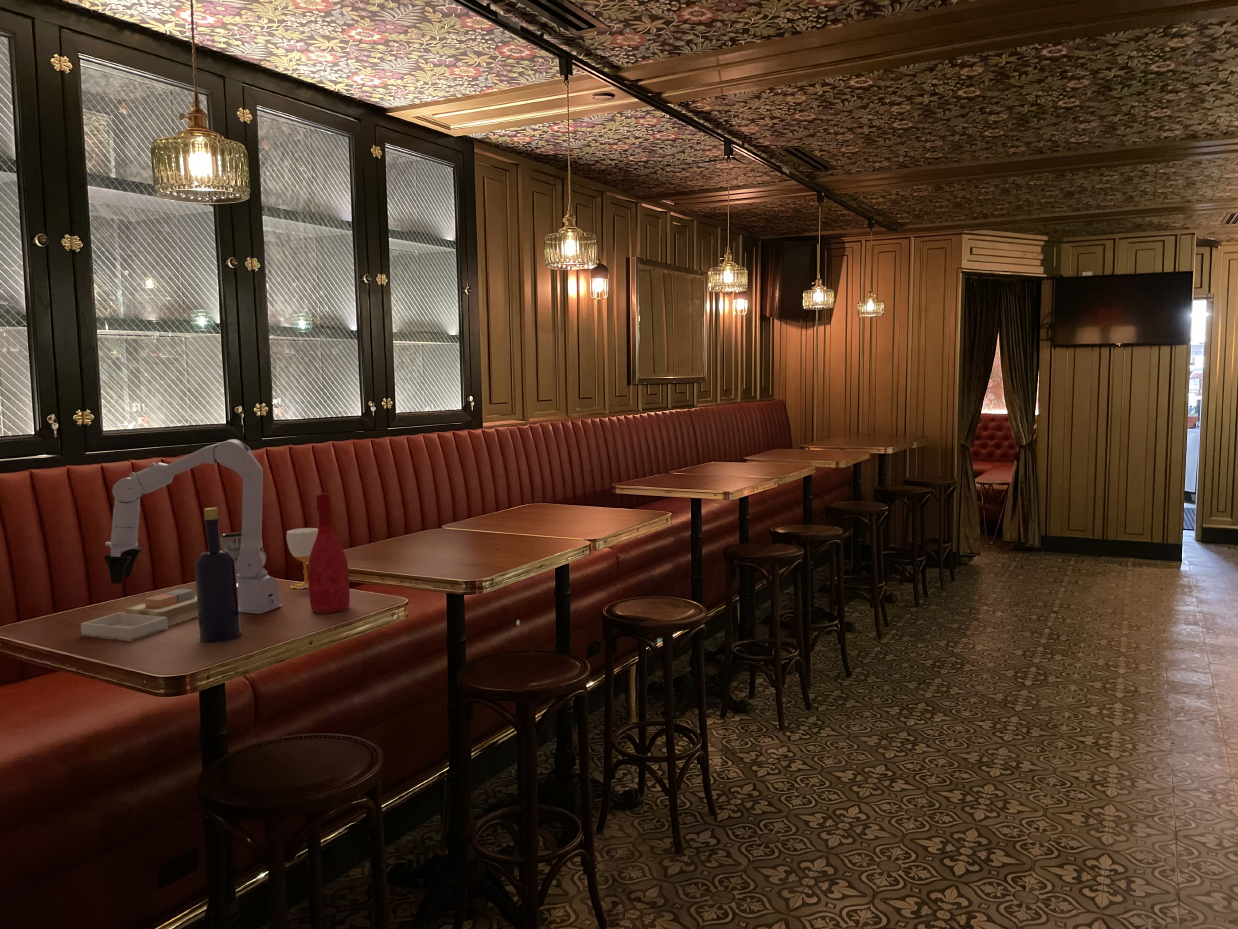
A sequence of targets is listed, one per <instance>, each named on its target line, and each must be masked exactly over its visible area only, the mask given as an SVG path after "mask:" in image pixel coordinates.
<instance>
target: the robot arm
mask: <svg viewBox="0 0 1238 929" xmlns="http://www.w3.org/2000/svg"><path fill="white" fill-rule="evenodd" d="M216 463H219V464H220V465H222V466H224V467H226V468H227V469H230V470H233V471H234V472H235V473H236V474H237V475H239V477H241V478H242V502H241V503H242V506H241V507H242V509H241V512H242V513H241V514H242V516H241V532H242V541H241V547H240V556H239V558H238V559H237V561H236V569H237V571H238V573H239V574H237V573H236V580H237V581H238V588H237V593H238V606H239V613H246V614H254V615H255V614H258V615H260V614H264V613H268V612H270V611H272V610H275V609H277V608H281V607H282V606H283V604H281V603H280V594H279V592H280V591H279V583H278V581H277V579H276V578H275V577H273V576H270V575H269V573H268V570H266V568H265V567H264V566H265V564H266V561H267V555H266V552H265V550H264V547H263V546H264V545H263V538H262V537H263V536H262V532H263V531H262V530H263V493H264V491H263V490H264V489H263V488H264V487H263V486H264V484H263V483H264V469H263V467H262V465H261V464H260V462H259V461H258V460H257V459H256V456H255V455H254V453H253V452H252V449H251V448H250V447H249V446H248V445H246V444H245V443H244V442H242V441H241V440H239V439H235V438H234V439H233V438H231V439H227V440H226V441H223V442H219V443H214V444H211V445H208V446H205V447H202V448H200V449H198V450H196V451H193V452H192V453H189V454H187V455H186V456H183V457H181V458H178V459H177V460H175V461H173V462H171V463H169V464H168V463H163V462H157V463H156V462H151V463H150V464H148V467H146V468H144V469H142V470H139V471H138V472H135V471H133V472H131V473H129V476H127V477H123V478H120V479H118V480H117V481H116V482H115V483H114V484H113V486H112V489H111V490H112V495H113V497H114V504H113V505H114V506H113V510H112V523H111V535H110V541H106V542H105V544H104V545H105V547H109V548H110V553H105V554H104V556H103V559H104V560H105V563H106V565H107V566H108V570H109V571H108V572H109V579H110V581H111V582H110V583H111V584H113V585H114V584H115V585H116V584H117V585H122V583H123V580H124V578H130V577H131V576H132V572H133V570H134V566H135V563H136V560H137V559H138V556H139V555H140V553H141V551H142V548H141V547H138V546H139V543H138V540H139V539H138V537H139V528H140V526H139V524H140V512H141V507H140V505H141V497H142V496H143V495H147V494H150V493H152V492H154V491H156V490H159V489H161V488H164V487H165V486H168V485H170V484H172V482H173V479H174V477H175V476H176V475H178V474H180V473H183V472H185V471H188V470H190V469H193V468H195V467H198V466H199V465H202V464H214V465H215V464H216Z"/></svg>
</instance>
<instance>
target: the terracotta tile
mask: <svg viewBox="0 0 1238 929" xmlns="http://www.w3.org/2000/svg"><path fill="white" fill-rule="evenodd" d="M144 603H145V607H153V608H163V607H166V606H169V605H172V604H176V603H177V595H169V594H164V593H160V594H156V595H153V596H151V597H145V598H144Z"/></svg>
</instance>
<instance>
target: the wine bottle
mask: <svg viewBox="0 0 1238 929" xmlns="http://www.w3.org/2000/svg"><path fill="white" fill-rule="evenodd" d="M331 505H332V504H331V496H330V494H329V493H327V492H322V493H318V494H317V495H316V512H317V513H318V527H317V529H318V534H317V537H316V540H315V542H314V545H313V547H312V550H311V553H310V557H309V560H308V561H307V562H308V563H307V581H308V585H309V589H308V593H309V594H308V595H309V602H310V603H309V604H310V610H311V611H312V612H314V613H316V614H333V613H338V612H342V611H345V610H346V609H348V608H349V607H350V602H351V600H350V578H349V576H350V575H349V564H348V560H347V557H346V554H345V552H344V549H343V547H342V546H341V543H340V542H339V539H338V538H337V536H336V534H335V532H334V529H333V526H332V521H331V518H332V517H331V512H332V506H331Z"/></svg>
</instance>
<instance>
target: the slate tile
mask: <svg viewBox="0 0 1238 929" xmlns="http://www.w3.org/2000/svg"><path fill="white" fill-rule="evenodd" d="M163 594H169V595H177V602H182V601H186V600H189V599H192V598H195V596H196V590H195V589H188V588H186V589H185V588H177V589H175V590H171V591H168V592H164V593H163Z"/></svg>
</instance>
